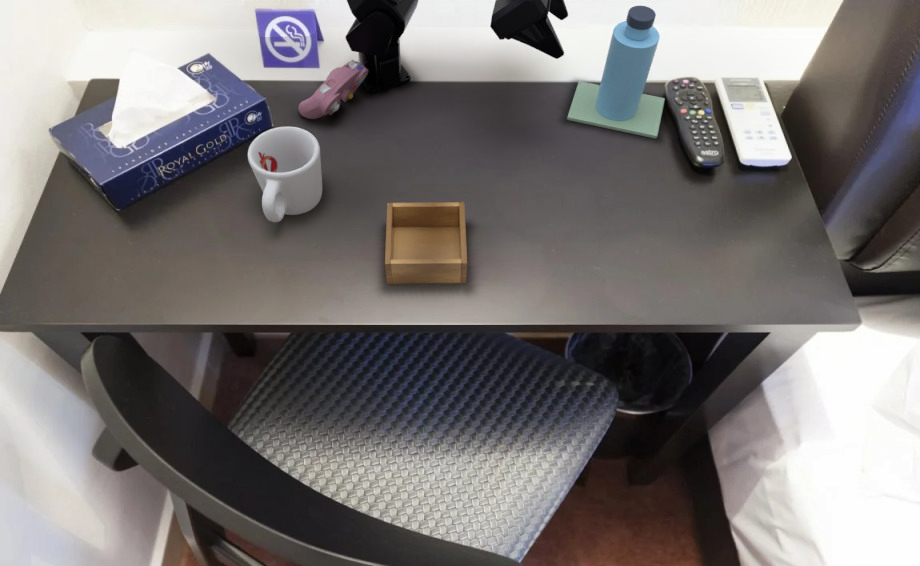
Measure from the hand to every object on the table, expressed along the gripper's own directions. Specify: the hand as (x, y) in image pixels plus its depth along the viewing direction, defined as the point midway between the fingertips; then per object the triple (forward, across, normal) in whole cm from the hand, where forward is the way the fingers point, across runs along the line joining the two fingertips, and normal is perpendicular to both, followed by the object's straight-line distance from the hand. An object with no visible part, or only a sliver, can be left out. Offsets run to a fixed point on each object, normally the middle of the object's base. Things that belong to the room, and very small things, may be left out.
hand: (562, 36), depth 82 cm
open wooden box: (+2, -28, +18) cm, 33 cm away
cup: (-9, -23, +30) cm, 39 cm away
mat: (+14, +2, 0) cm, 14 cm away
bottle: (+13, +2, 0) cm, 13 cm away
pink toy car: (-10, -4, +29) cm, 31 cm away
